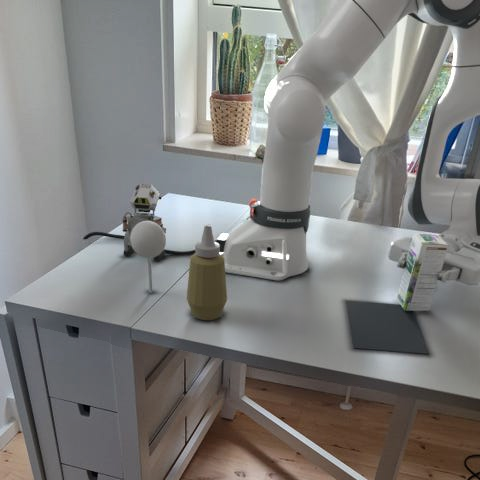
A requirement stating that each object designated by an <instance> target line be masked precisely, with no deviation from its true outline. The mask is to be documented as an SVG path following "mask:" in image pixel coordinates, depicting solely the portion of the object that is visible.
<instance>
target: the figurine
mask: <svg viewBox="0 0 480 480" xmlns="http://www.w3.org/2000/svg"><path fill="white" fill-rule="evenodd" d="M160 195H161V193H160V192H159V191H158V190H157V189H156V187H155V186H153V184H149V183H140V184H138V185H136V186H135V188H134V190H133V192H132V195H131V198H130V201H129V203H130V205H131V207H132V208H133V209H134V213H131V212H125V214H124V216H122V232H123V233H124V236H125V237H124V239H123V256H124V257H131V255H132V254H134V253H135V251H134V249H133V248H132V245H131V241H130V235H131V232H132V229H133V228H134V227H135V226H136V225H137V224H138V223H140V222H142V221H152V222H155V223H157V224H158V225H159V226H160V227H161V228H162V229H163V231H164V233H165V234H167V228H166V227H164V224H163V221H162V219H163V218H162V217H160V216H157V215H155V211H156V208H157V206H158V201H159V200H162V197H161V196H160ZM137 211H138V212H137ZM151 211H152V213H151ZM127 214H128V215H127ZM164 249H165V248H164ZM164 249H163V251H162V252H161V253H160V254H159V255H158V256H156V257H153V260H154V261H158V262H160V261H161V260H162V258H164V257H165V255H166V253H165V250H164Z"/></svg>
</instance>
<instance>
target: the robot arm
mask: <svg viewBox="0 0 480 480" xmlns="http://www.w3.org/2000/svg"><path fill="white" fill-rule="evenodd" d="M406 16H410V17H411V18H413V19H415V20H416V21H418V22H420V23H423V24H426V25H431V26H435V27H436V26H437V27H442V26H446V27H448V28H449V30H450V32H451V36H452V41H453V47H454V48H453V56H452V66H451V73H450V77H449V80H448V83H447V85H446V88H445V89H444V92H443V93H442V94H441V95H440V96H437V98H436V99H434V102H433V104H432V106H431V109H430V112H429V116H428V120H427V123H426V128H425V132H424V136H423V141H422V144H421V150H420V155H419V159H418V164H417V169H416V173H415V178H414V180H413V183H412V186H411V188H410V189H411V190H410V193H409V195H408V200H407V212H408V213H409V216H410V217H411V219H413V220H414V221H415V223H416V224H418V225H421V226H422V225H446V226H449V228H448V229H445V230H444V231H442V232H440V233H439V234H438V235H439V236H440V237H441V238H442V239H443V240H444V241H445V242H446V244H448V249H447V253H446V256H445V260H444V263H443V267H442V270H441V271H440V272H439V275H438V276H439V277H438V278H437V280H438V282H442V283H446V282H447V281H455V282H458V283H462V284H465V285H468V286H478V284H479V283H480V178H444V177H441V175H440V169H441V165H442V161H443V156H444V152H445V148H446V143H447V140H448V136H449V135H450V134H451V132H452V131H453V129H454V128H456V127H457V126H458V125H460V124H463V123H464V122H467V121H468V120H472V119H473V118H476V117H478V116H480V0H336V2H335V4H334V5H333V6H332V8H331V9H330V10H329V11H328V13H327V14H326V16H325V17H324V18H323V19H322V21H321V22H320V24H319V25H318V26H317V27H316V29H315V30H314V31H313V32H312V34H311V35H310V36H309V37H308V39H307V40H306V41H304V43H303V44H302V45H301V46H300V47H299V49H298V50H297V51H296V52H295V53H294V54H293V55H292V56H291V57H290V59H289V60H288V61H287V62H286V63H285V65H284V66H283V67H282V68H281V69H280V71H278V73H277V74H276V75H275V77H274V78H273V79H272V80H271V81H270V83H269V85H268V86H267V88H266V91H265V95H264V98H263V99H264V100H263V103H264V110H265V114H266V116H267V132H266V141H265V154H264V160H263V165H262V167H261V181H260V197H259V200H258V199H257V198H254V197H253V198H251V199H250V201H249V206H248V207H249V208H250V209H249V210H250V211H249V215H250V218H249V219H248V220H247V219H246V220H244V221H243V222H241V223H240V224H239V225H237V226H236V227H234V228H232V229H231V230H230V232H228V233H226V232H221V233H220V235H219V236H218V237H217V238H216V240H215V239H214V242H217V243H218V244H219V245H220V254H221V255H222V256H223V257H224V260H225V273H227V274H234V275H240V276H247V277H254V278H259V279H265V280H270V281H271V280H273V281H278V282H279V281H283V280H285V279H288V278H289V277H293V276H298V275H301V274H303V273H306V271H307V270H308V269H309V263H308V253H307V232H308V230H309V227H310V219H311V205H310V199H311V192H312V191H311V190H312V184H313V183H312V182H313V174H314V168H315V163H316V160H317V156H318V152H319V149H320V148H319V146H320V143H321V139H322V133H323V128H324V125H325V121H326V113H327V112H326V111H327V109H326V102H327V101H328V100H329V99H330V98H331V97H332V96H333V95H335V93H336V92H337V91H339V89H341V87H343V86H344V85H345V84H347V82H349V81H350V80H351V79H353V78H354V77H355V76H356V75H357V74H358V73H359V71H360V70H361V69H362V67H363V66H364V65H365V64H366V63H367V61H368V60H369V59H370V58H371V56H372V55H373V54H374V53H375V51H377V49H378V48H379V46H381V44H382V43H383V42H384V41H385V39H386V38H387V36H388V35H389V34H390V33H391V31H392V30H393V29H394V27H395V26H396V25H397V24H398V23H399V22H400V21H402V19H403V18H405V17H406ZM94 236H102V237H107V238H112V239H120V240H124V237H125V235H121V234H113V233H108V232H104V231H92V232H89V233H87V234H85V235H84V236H83V238H82V240H84V241H85V240H88V239H89V238H92V237H94ZM412 238H413V237H410V236H408V237H402V238H399V239H395V240H393V241H392V242H391V243H390V245H389V249H388V259H389V260H390V261H393V262H396V263H397V265H396V268H398V269H403V270H404V269H405V265H406V261H407V257H408V253H409V249H410V246H411V242H412ZM164 250H165V254H167V255H168V254H169V255H174V256H188V255H193V254H195V249H193V250H187V251H179V250H171V249H165V248H164Z"/></svg>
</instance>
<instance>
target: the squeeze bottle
mask: <svg viewBox="0 0 480 480" xmlns="http://www.w3.org/2000/svg"><path fill="white" fill-rule="evenodd" d="M213 233H214V232H213V228H212V224H209V223H206V224H204V226H203V231H202V236H201V240H200V241H197V242H196V243H195V245H194V246H195V247H194V250H195V254H191V255H190V259H189V271H188V279H187V282H188V283H187V291H186V301H187V303H188V306H189V309H190V312H191V314H192V316H193V317H194V318H195V319H198V320H201V321H213V320H216V319H219V318H220V317H221V315H222V314H223V311H224V309H225V307H226V304H227V301H228V292H227V291H228V289H227V277H226V272H225V260H224V257H223V256H222V255H221V254H220V245H219V244H218V243H217V242H214V241H215V239H214V238H215V237H214V234H213Z"/></svg>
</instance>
